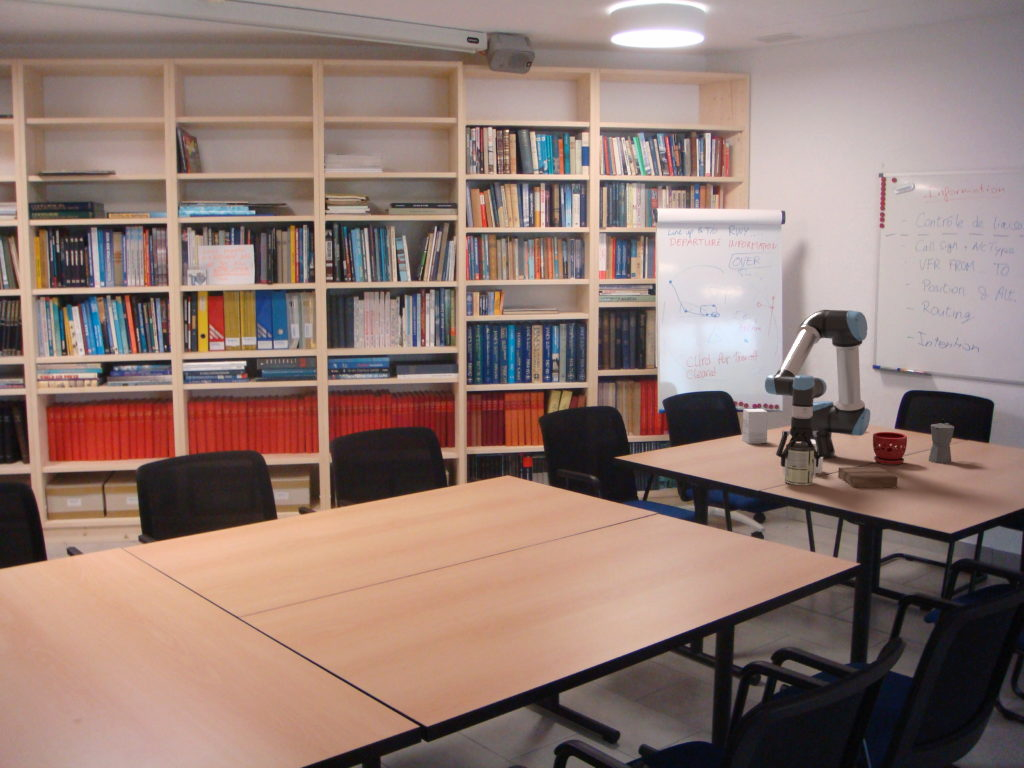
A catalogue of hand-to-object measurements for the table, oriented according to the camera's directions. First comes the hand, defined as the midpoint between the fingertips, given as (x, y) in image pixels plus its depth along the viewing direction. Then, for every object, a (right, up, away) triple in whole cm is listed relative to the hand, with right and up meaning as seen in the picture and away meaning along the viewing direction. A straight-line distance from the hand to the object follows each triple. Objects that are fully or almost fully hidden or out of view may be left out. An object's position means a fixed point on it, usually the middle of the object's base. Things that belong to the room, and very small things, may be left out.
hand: (798, 475), depth 352 cm
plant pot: (+48, +1, +36) cm, 60 cm away
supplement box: (+3, +7, +78) cm, 78 cm away
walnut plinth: (+26, -3, +1) cm, 26 cm away
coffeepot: (+72, +2, +41) cm, 83 cm away
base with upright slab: (+11, -1, +19) cm, 22 cm away
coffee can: (0, -3, 0) cm, 3 cm away
